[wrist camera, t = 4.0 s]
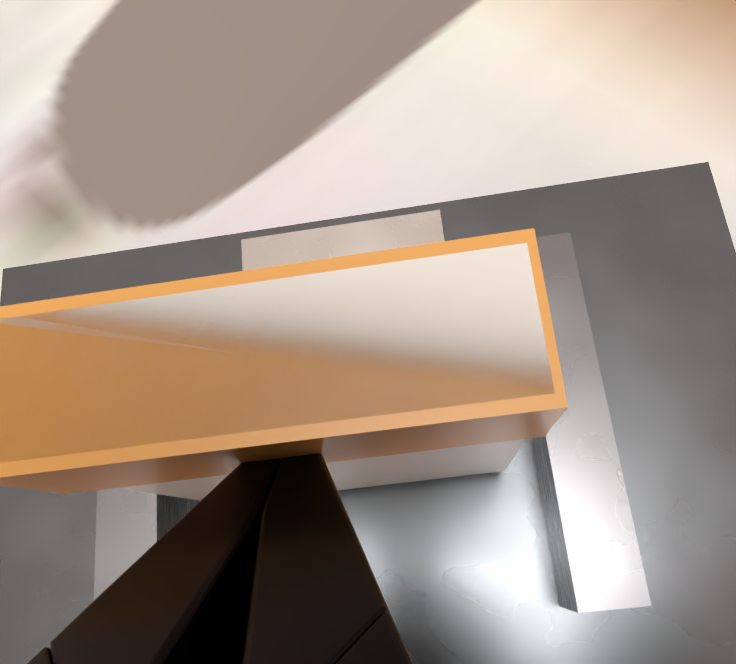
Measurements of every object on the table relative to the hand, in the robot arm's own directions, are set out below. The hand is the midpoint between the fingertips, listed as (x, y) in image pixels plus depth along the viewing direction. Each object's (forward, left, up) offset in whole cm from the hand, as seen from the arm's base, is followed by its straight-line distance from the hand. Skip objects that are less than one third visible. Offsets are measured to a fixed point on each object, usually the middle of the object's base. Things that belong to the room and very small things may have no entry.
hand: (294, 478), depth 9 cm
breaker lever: (+1, +1, -6) cm, 6 cm away
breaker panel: (+1, +1, -10) cm, 10 cm away
